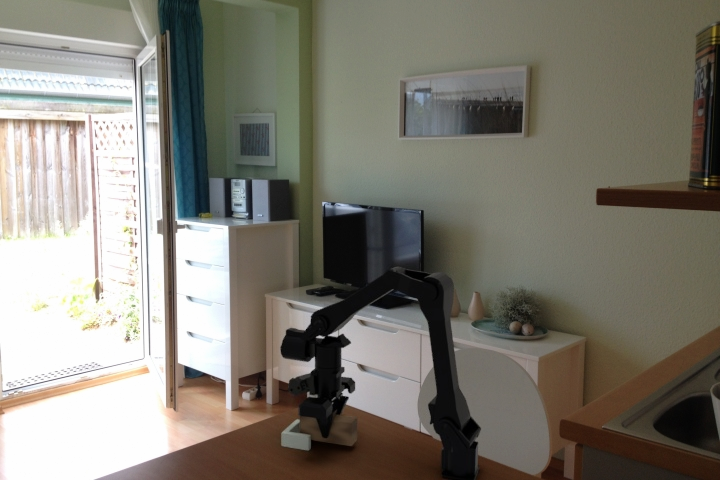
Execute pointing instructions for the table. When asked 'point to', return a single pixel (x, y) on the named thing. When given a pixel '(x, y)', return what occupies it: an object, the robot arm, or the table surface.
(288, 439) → the bracket
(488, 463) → the table surface
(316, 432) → the brown wooden block
